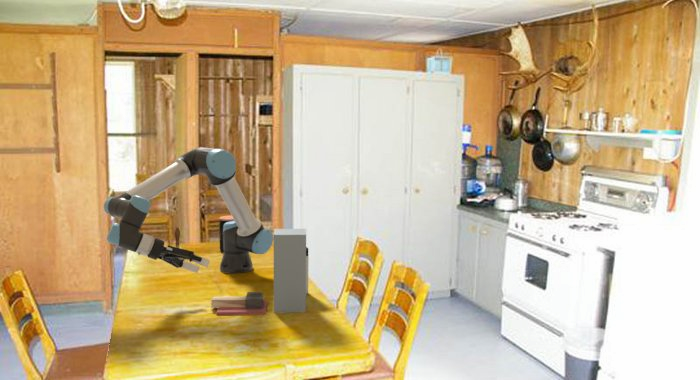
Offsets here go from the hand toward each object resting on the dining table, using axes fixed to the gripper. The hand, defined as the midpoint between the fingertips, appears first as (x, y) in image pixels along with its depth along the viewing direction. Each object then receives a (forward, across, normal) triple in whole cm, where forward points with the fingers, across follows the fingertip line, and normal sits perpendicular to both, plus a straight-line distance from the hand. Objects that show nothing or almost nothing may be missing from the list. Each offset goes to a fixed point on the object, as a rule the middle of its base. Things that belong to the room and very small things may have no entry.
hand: (203, 267), depth 222 cm
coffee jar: (+26, -71, +32) cm, 82 cm away
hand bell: (+1, -69, +18) cm, 71 cm away
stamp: (+17, +4, -10) cm, 20 cm away
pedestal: (+34, +12, -6) cm, 37 cm away
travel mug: (+41, +1, +3) cm, 42 cm away
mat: (+18, +5, -11) cm, 22 cm away
